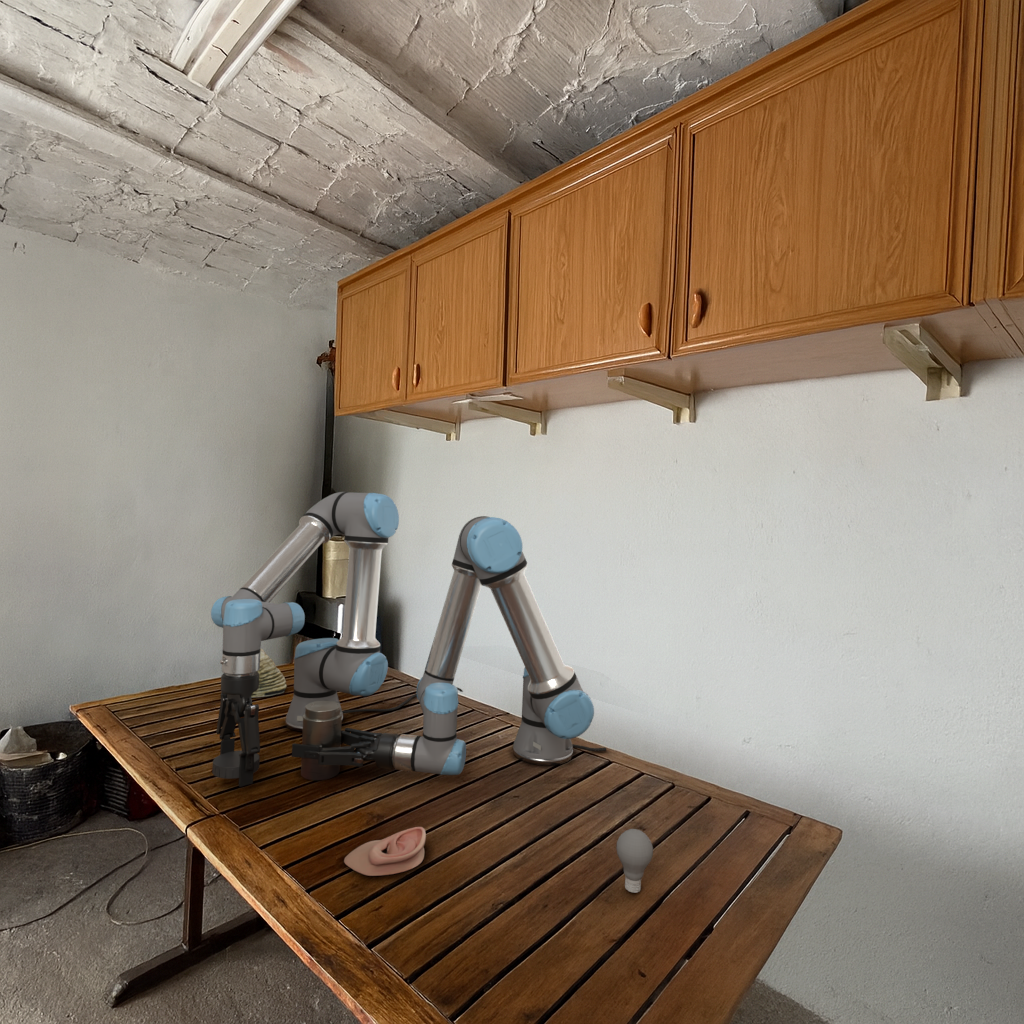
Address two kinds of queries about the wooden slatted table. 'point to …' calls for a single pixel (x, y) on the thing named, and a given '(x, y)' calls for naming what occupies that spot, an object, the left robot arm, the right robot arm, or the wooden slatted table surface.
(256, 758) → the lid
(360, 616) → the left robot arm
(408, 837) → the anatomical model
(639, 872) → the light bulb
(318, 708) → the jar
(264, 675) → the fossil
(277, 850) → the wooden slatted table surface
